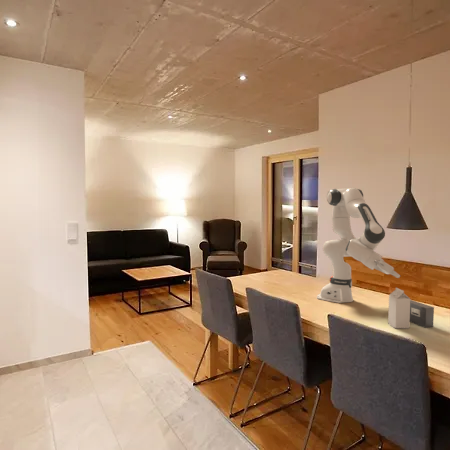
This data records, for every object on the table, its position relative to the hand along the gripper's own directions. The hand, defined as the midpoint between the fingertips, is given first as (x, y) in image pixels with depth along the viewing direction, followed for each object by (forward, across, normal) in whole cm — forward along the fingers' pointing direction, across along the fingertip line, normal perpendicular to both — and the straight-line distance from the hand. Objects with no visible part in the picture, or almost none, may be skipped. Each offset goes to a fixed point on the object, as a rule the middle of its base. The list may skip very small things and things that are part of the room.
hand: (399, 277), depth 174 cm
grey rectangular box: (+18, +14, +15) cm, 27 cm away
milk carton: (+13, +2, +21) cm, 25 cm away
